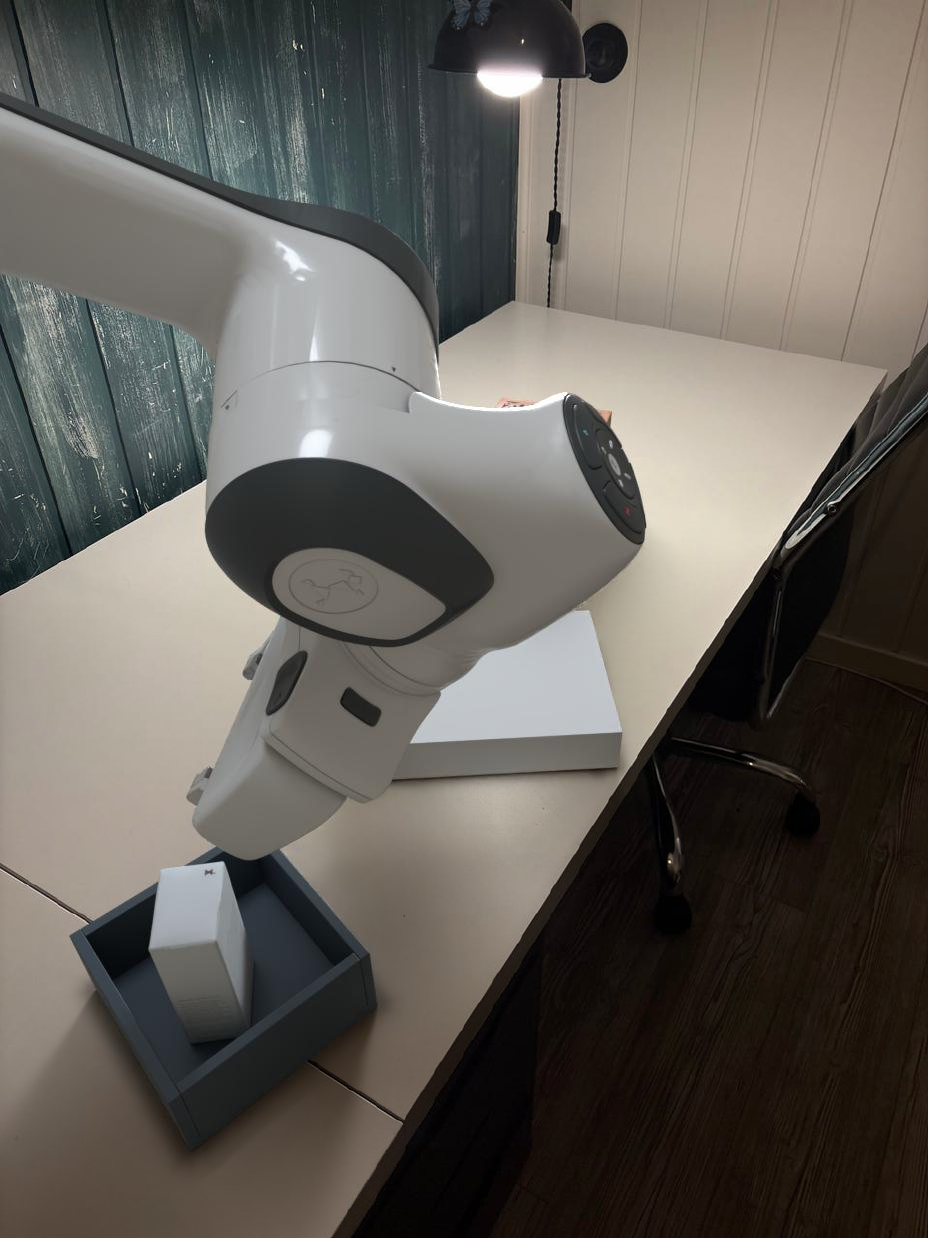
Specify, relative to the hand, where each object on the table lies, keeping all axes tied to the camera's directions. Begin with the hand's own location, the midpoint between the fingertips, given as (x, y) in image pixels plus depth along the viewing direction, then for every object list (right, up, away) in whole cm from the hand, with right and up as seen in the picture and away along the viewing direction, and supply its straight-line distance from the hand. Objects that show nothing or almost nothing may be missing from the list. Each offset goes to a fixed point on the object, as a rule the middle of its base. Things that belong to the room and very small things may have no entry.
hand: (229, 730), depth 55 cm
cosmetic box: (-3, -20, +10) cm, 23 cm away
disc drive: (+16, -2, +33) cm, 37 cm away
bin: (-2, -20, +11) cm, 23 cm away
